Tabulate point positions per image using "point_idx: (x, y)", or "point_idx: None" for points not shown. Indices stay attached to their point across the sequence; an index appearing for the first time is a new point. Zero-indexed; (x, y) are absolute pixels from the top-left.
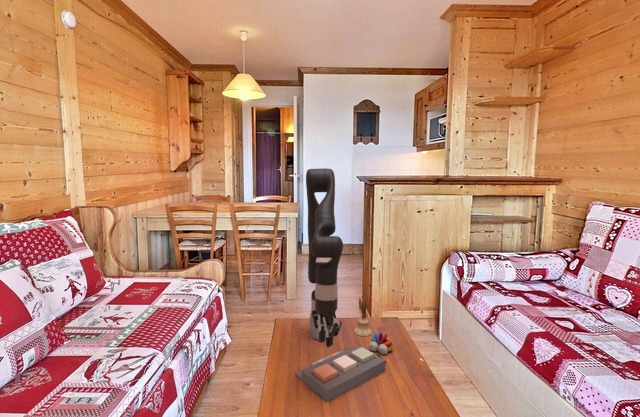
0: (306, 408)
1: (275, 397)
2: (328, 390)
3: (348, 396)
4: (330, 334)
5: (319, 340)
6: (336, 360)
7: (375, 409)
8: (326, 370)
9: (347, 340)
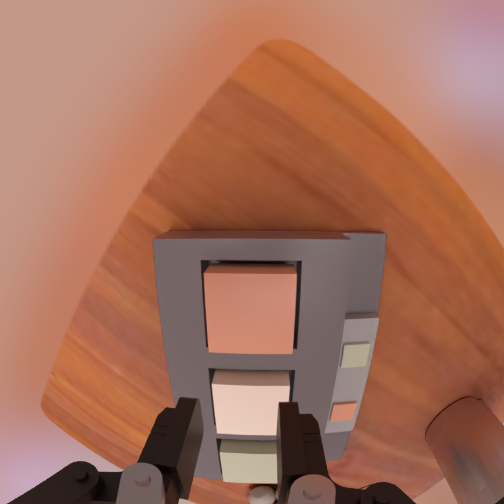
0: (189, 147)
1: (316, 90)
2: (153, 245)
3: (154, 309)
4: (85, 487)
5: (294, 410)
6: (279, 395)
7: (78, 323)
8: (246, 319)
9: (379, 462)
